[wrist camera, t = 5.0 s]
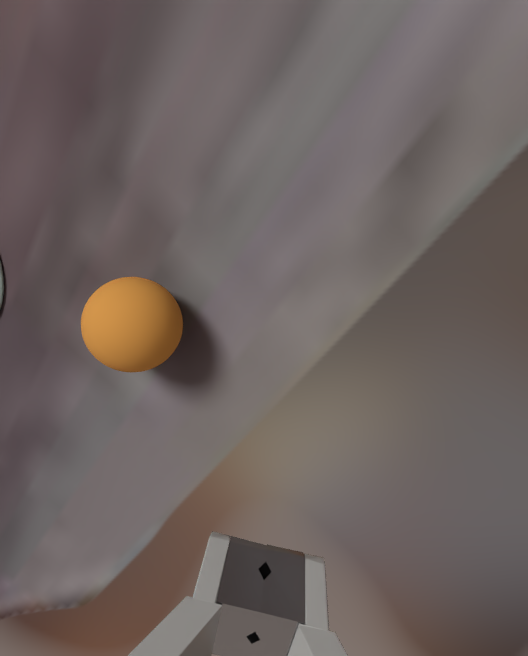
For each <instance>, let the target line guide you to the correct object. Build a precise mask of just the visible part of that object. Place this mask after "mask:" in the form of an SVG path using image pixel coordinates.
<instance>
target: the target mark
mask: <svg viewBox="0 0 528 656" xmlns="http://www.w3.org/2000/svg"><path fill="white" fill-rule="evenodd" d="M3 293H4V277H3V271H2V265H1V261H0V309H1V305H2V301H3Z"/></svg>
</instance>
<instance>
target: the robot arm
mask: <svg viewBox="0 0 528 656" xmlns="http://www.w3.org/2000/svg"><path fill="white" fill-rule="evenodd" d="M229 541H230V542H229ZM326 589H327V588H326V573H325V561H324V559H323V558H322V557H318V556H314V555H309V554H303V552H299V551H294V550H290V549H285V548H280V547H276V546H271V545H263V544H259V543H256V542H251V541H248V540H244V539H240V538H237V537H233V536H231V538H230V536H229V535H225V534H221V533H217V532H212V533H211V535H210V537H209V541H208V544H207V548H206V552H205V555H204V559H203V562H202V566H201V569H200V573H199V576H198V580H197V584H196V587H195V591H194V594H193V597H188V596H186V597H185V599H183V601H181V603H180V604H179V605H178V606H177V607H175V608H174V609H173V611H172V612H171V613H170V614H169V615H168V616H167V617H166V618H165V619H164V620H163V621H162V622H161V623H160V624H159V625H158V626H157V627H156V628H155V629H154V630H153V631H152V632H151V633H150V634H149V635H148V636H147V637H146V638H145V639H144V640H143V641H142V642H141V643H140V644H139V645H138V646H137V647H136V648H135V649H134V650H133V651H132V652H131V653H130V654H129V655H128V656H211V655H212V654H215V655H220V656H348V655H347V653H346V651H345V649H344V647H343V646H342V644H341V642H340V640H339V638H338V636H337V635H336V633H335V632H333V631H329V620H328V605H327V590H326Z"/></svg>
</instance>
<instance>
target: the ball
mask: <svg viewBox="0 0 528 656" xmlns="http://www.w3.org/2000/svg"><path fill="white" fill-rule="evenodd" d="M81 331H82V336H83V339H84V342H85V344H86V346H87V348H88V349H89V351H90V352H91V353H92V355H93V356H94V357H95V358H96V359H98V360H99V361H100V362H101V363H103V364H104V365H106V366H108V367H110V368H112V369H115V370H119V371H123V372H141V371H146V370H149V369H152V368H154V367H156V366H158V365H160V364H162V363H163V362H164V361H166V360H167V359H168V358H169V357H170V356H171V355H172V354H173V352H174V351H175V349H176V348H177V346H178V344H179V342H180V339H181V336H182V331H183V319H182V314H181V310H180V308H179V306H178V304H177V302H176V300H175V299H174V297H173V296H172V295H171V294H170V293H169V292H168V291H167V290H166V289H165V288H164V287H162V286H161V285H159V284H158V283H156V282H154V281H151V280H148V279H145V278H140V277H124V278H119V279H116V280H112V281H110V282H108V283H106V284H104V285H103V286H101V287H100V288H99V289H97V290H96V291H95V292H94V293H93V294H92V296H91V297H90V298H89V300H88V301H87V303H86V305H85V307H84V310H83V313H82V318H81Z"/></svg>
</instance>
